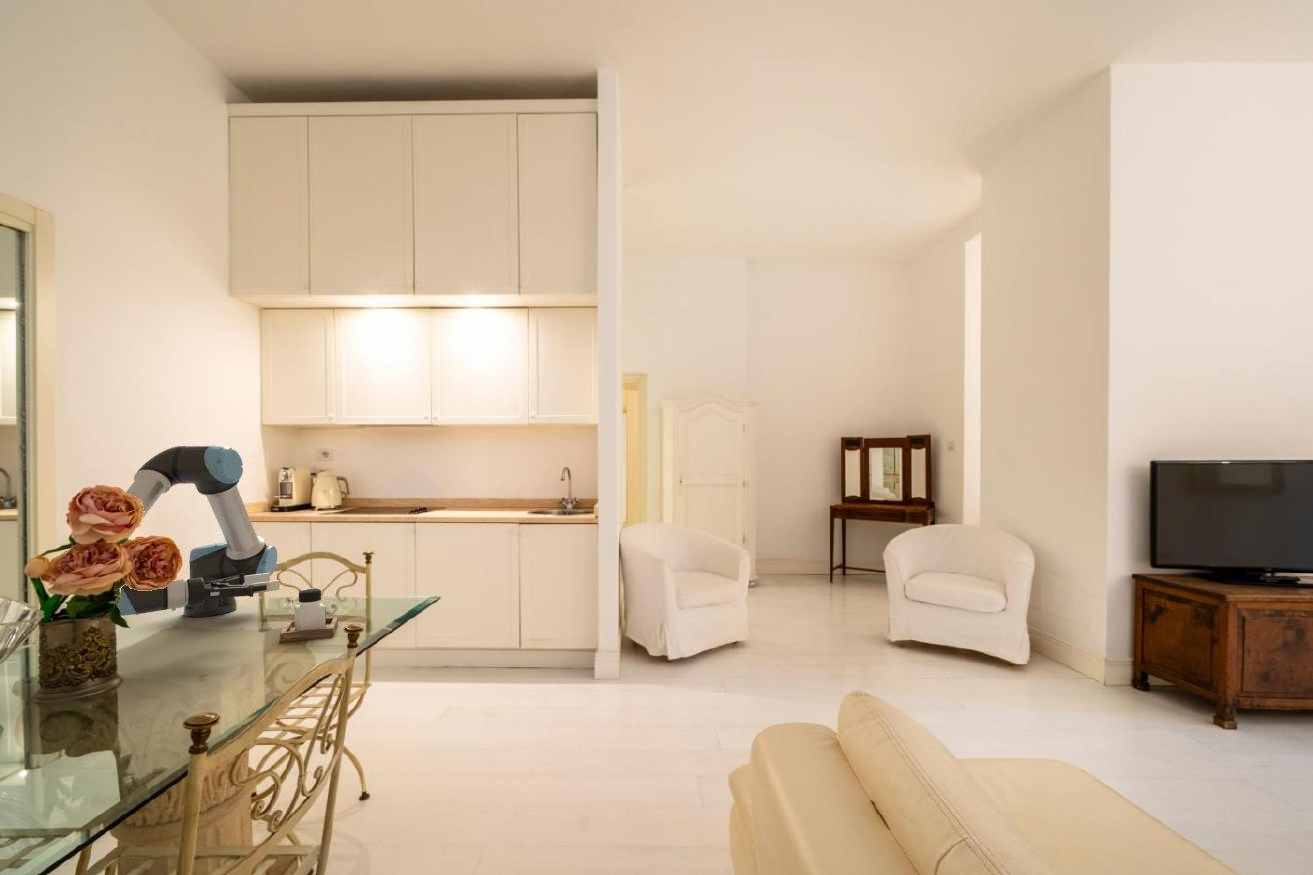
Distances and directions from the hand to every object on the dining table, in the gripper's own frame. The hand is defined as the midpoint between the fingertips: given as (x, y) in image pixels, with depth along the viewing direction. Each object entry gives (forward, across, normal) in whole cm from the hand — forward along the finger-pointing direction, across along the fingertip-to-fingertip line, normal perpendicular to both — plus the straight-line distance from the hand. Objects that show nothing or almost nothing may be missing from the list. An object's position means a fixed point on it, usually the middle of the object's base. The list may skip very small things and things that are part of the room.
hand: (274, 580), depth 194 cm
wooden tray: (+9, 0, -17) cm, 20 cm away
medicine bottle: (+9, 0, -16) cm, 19 cm away
